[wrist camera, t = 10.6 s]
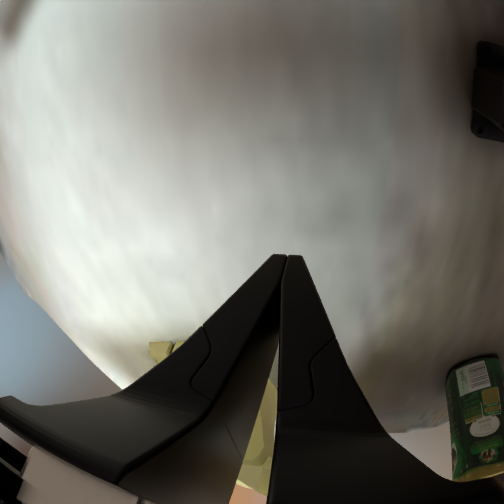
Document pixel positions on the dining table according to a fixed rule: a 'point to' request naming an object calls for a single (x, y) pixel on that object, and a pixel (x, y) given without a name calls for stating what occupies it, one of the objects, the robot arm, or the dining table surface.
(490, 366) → the coffee jar
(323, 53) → the dining table surface
